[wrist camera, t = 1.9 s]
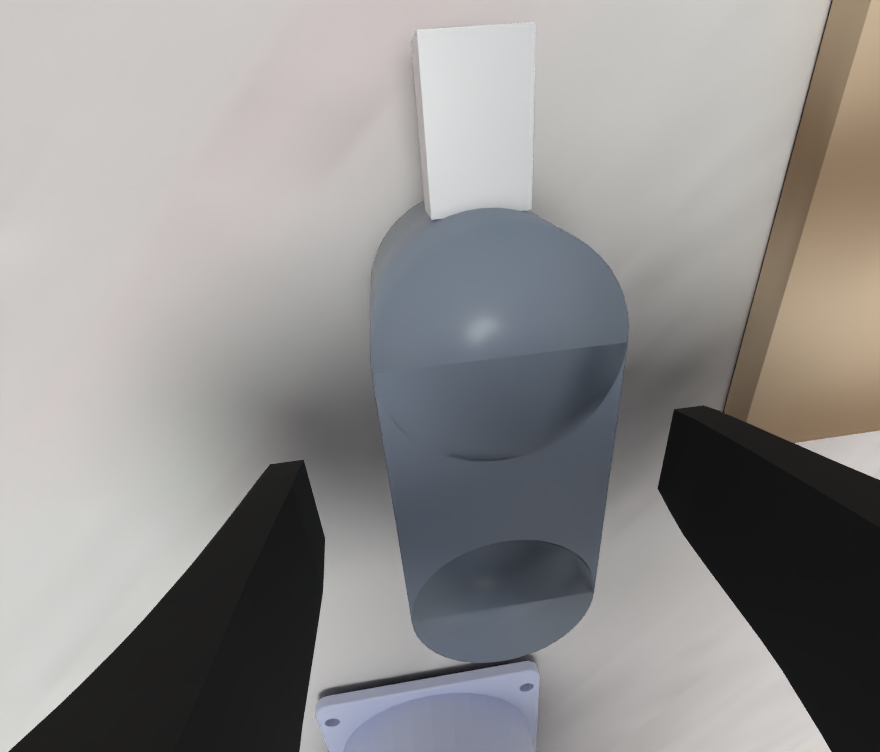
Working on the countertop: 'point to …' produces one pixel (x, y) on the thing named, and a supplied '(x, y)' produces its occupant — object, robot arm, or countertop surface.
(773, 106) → the countertop surface
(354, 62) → the countertop surface
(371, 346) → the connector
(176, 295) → the countertop surface
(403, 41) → the countertop surface
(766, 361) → the cork pad
